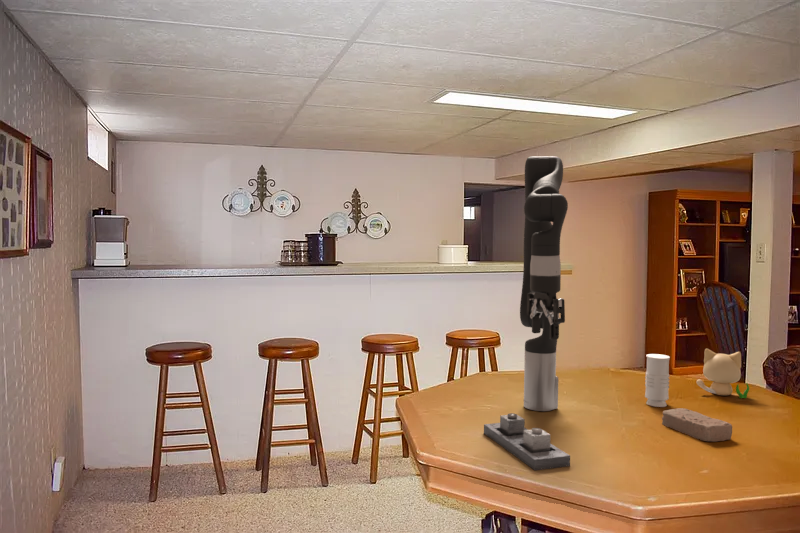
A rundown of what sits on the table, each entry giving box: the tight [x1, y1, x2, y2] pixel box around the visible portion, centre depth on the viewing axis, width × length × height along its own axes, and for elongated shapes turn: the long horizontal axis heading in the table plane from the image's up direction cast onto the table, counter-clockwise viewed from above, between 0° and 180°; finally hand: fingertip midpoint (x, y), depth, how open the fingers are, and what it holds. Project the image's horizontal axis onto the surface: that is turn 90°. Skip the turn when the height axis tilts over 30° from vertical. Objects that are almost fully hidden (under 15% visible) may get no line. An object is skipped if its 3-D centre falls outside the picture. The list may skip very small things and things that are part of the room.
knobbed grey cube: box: [499, 412, 526, 436], centre depth 154 cm, size 4×4×7 cm
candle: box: [644, 353, 671, 408], centre depth 188 cm, size 7×7×15 cm
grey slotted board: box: [483, 422, 571, 471], centre depth 149 cm, size 9×26×2 cm, turn 18°
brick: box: [661, 407, 733, 443], centre depth 163 cm, size 17×8×5 cm, turn 20°
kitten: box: [696, 348, 750, 399], centre depth 200 cm, size 15×10×15 cm
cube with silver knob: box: [523, 427, 551, 453], centre depth 143 cm, size 4×4×7 cm
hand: (544, 335), depth 156 cm, fingers open, 8 cm apart
